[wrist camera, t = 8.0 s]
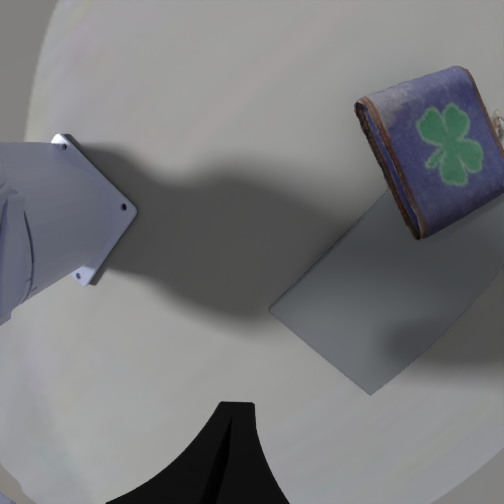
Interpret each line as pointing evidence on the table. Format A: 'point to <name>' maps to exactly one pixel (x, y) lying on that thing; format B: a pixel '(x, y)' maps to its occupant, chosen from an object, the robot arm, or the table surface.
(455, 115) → the clover print pouch
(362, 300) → the mat
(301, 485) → the table surface
